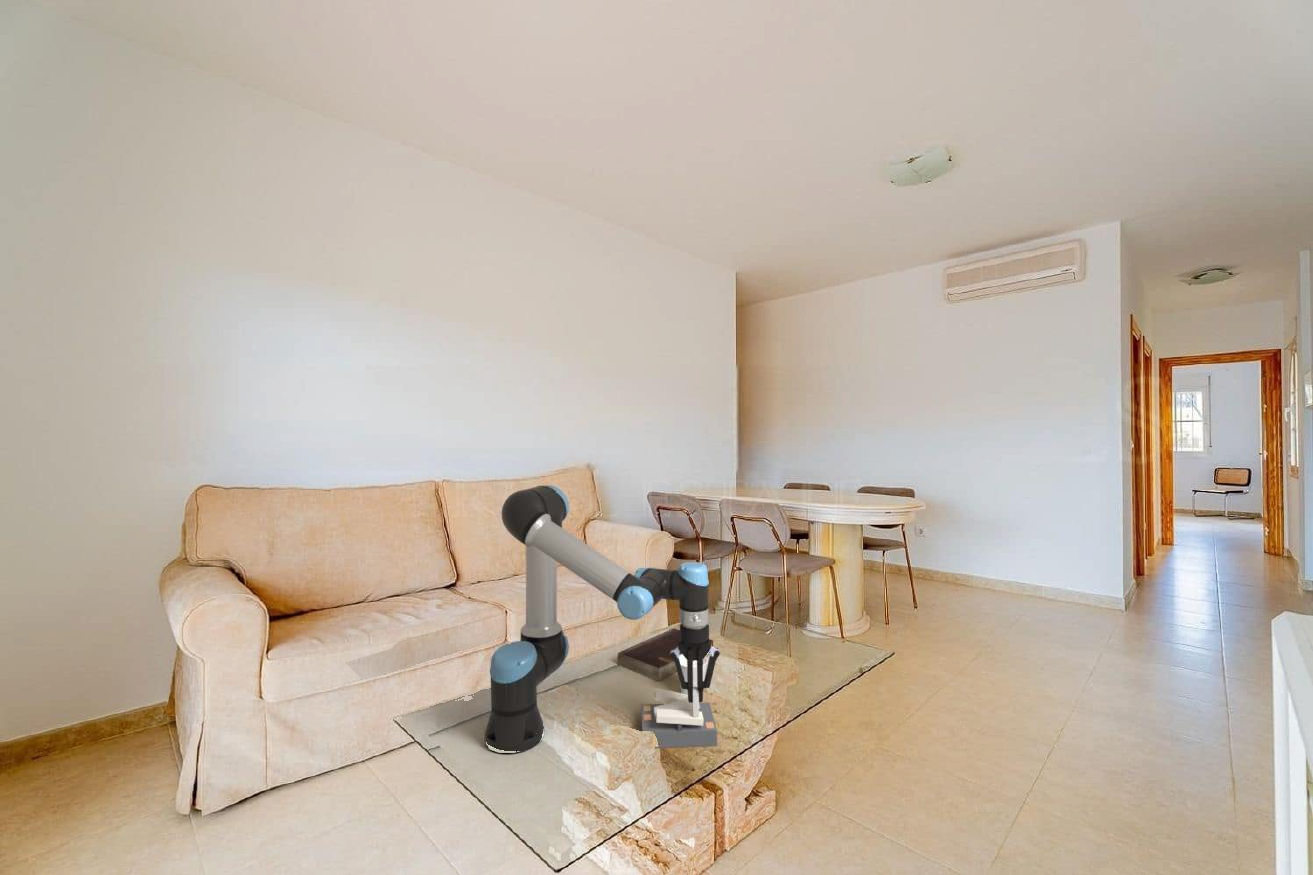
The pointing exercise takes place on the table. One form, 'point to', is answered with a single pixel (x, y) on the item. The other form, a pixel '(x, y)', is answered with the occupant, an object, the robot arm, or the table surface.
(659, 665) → the dark brown tray
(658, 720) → the rocker
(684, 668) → the cup
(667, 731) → the switch unit
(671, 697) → the rocker
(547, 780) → the table surface
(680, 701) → the white block
